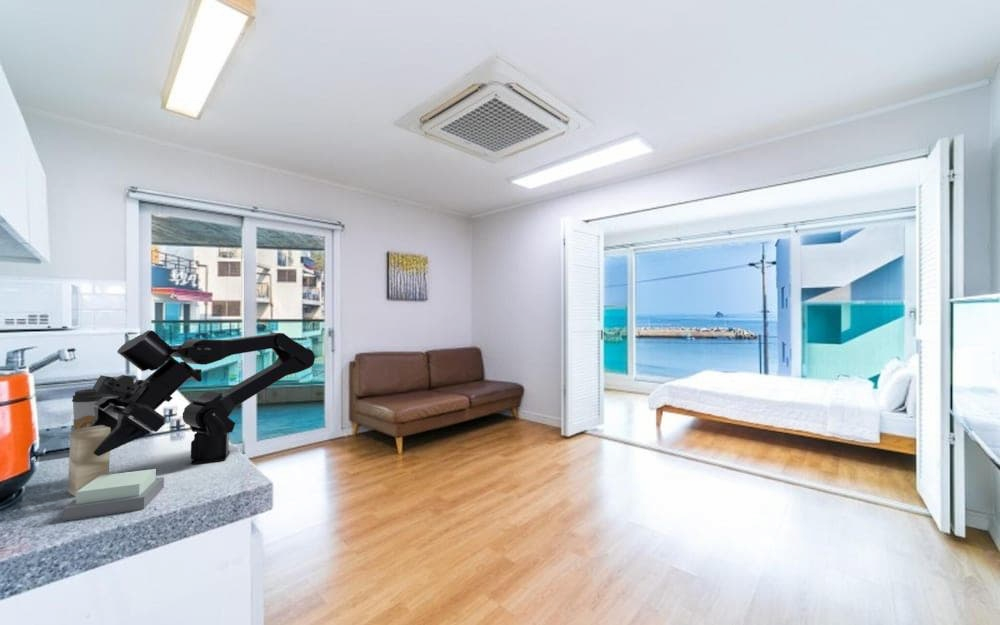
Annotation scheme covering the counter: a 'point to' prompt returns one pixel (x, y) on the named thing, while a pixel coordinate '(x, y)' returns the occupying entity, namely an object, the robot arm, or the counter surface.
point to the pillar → (86, 456)
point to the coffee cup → (85, 407)
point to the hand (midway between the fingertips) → (86, 450)
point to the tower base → (113, 504)
